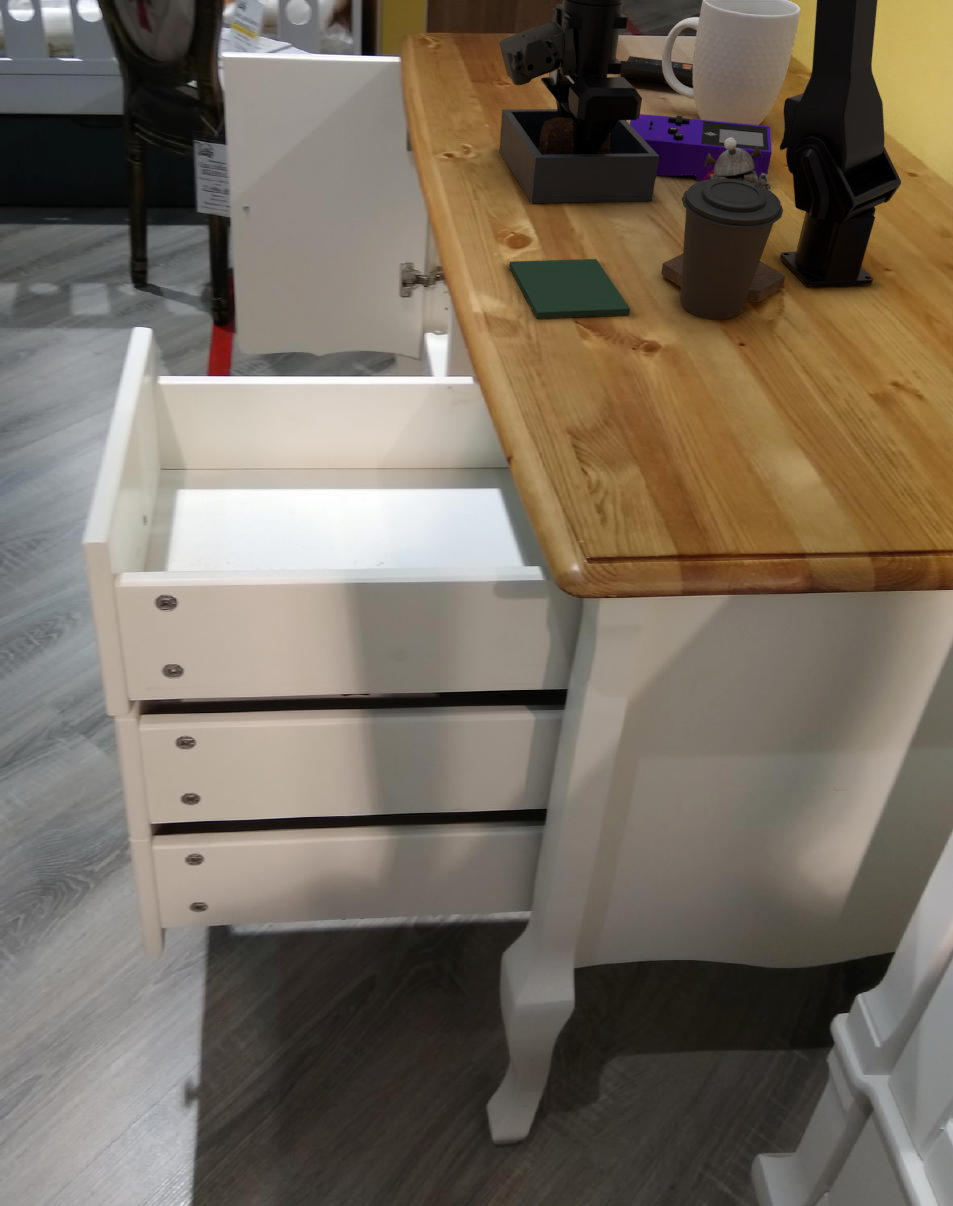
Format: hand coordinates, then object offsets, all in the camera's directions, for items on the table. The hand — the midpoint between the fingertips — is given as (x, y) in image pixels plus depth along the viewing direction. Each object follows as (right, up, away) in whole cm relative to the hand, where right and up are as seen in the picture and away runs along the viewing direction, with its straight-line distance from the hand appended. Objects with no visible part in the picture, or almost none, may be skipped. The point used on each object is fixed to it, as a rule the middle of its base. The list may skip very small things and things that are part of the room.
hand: (574, 164), depth 121 cm
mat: (-2, -19, -21) cm, 28 cm away
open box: (0, -1, +1) cm, 1 cm away
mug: (+19, +12, +18) cm, 29 cm away
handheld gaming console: (+13, +1, +6) cm, 14 cm away
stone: (0, -1, +1) cm, 1 cm away
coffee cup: (+10, -20, -21) cm, 31 cm away
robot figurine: (+12, -17, -18) cm, 28 cm away
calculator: (+13, +22, +30) cm, 40 cm away
